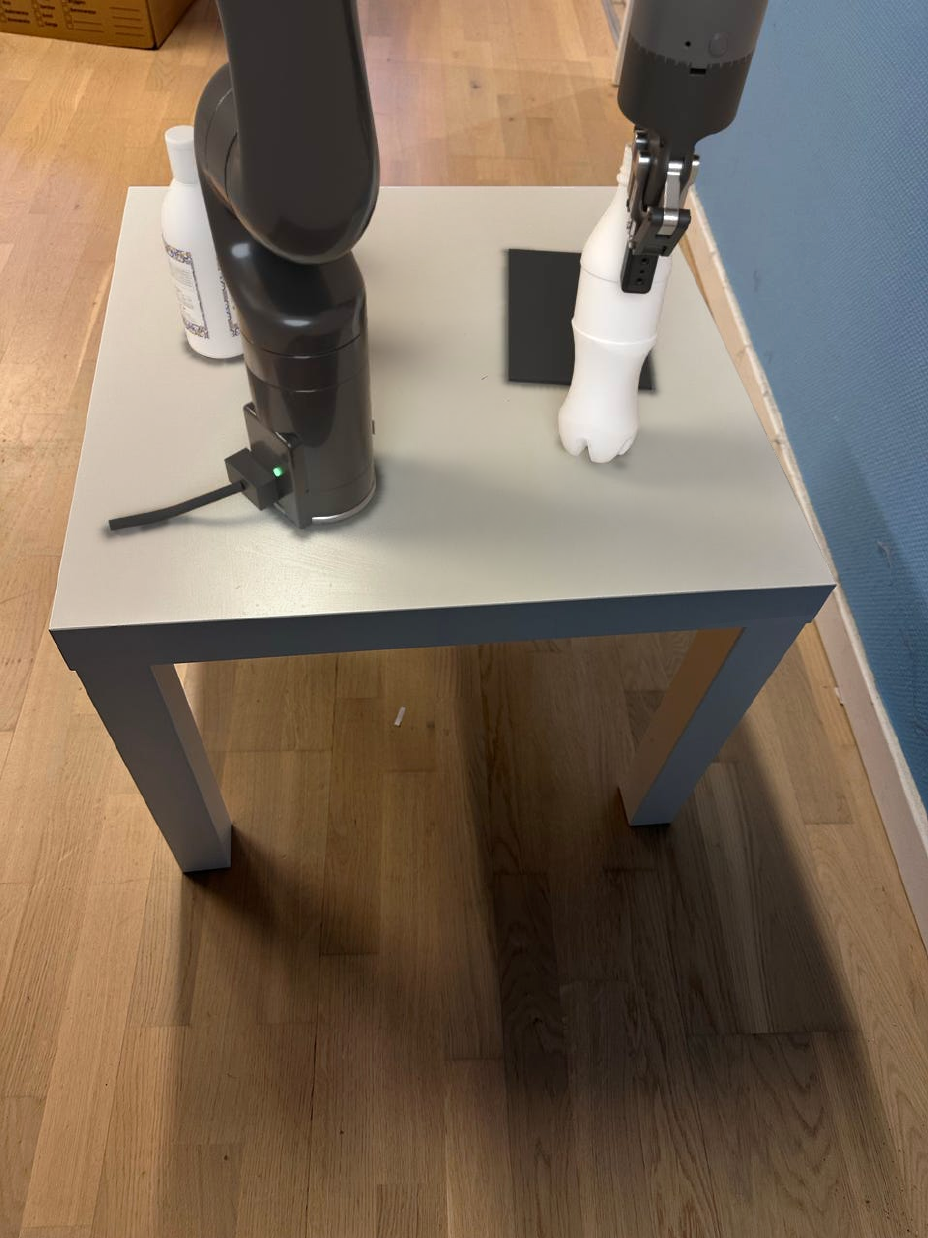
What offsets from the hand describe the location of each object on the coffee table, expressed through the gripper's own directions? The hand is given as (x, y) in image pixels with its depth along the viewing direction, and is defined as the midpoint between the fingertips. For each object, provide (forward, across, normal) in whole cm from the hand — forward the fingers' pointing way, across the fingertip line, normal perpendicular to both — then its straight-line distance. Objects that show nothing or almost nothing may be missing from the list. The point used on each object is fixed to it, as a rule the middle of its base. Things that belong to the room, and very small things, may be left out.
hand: (634, 287), depth 67 cm
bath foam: (+18, -14, -36) cm, 43 cm away
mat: (+18, -22, -1) cm, 28 cm away
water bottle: (+18, -1, 0) cm, 18 cm away
